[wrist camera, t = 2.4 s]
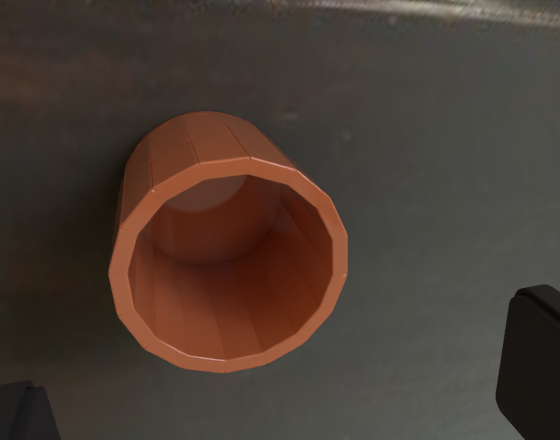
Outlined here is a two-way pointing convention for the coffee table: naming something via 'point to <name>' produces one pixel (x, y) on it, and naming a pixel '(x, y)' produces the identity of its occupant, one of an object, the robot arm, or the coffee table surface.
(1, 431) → the robot arm
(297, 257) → the pot
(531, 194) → the coffee table surface
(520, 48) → the coffee table surface
